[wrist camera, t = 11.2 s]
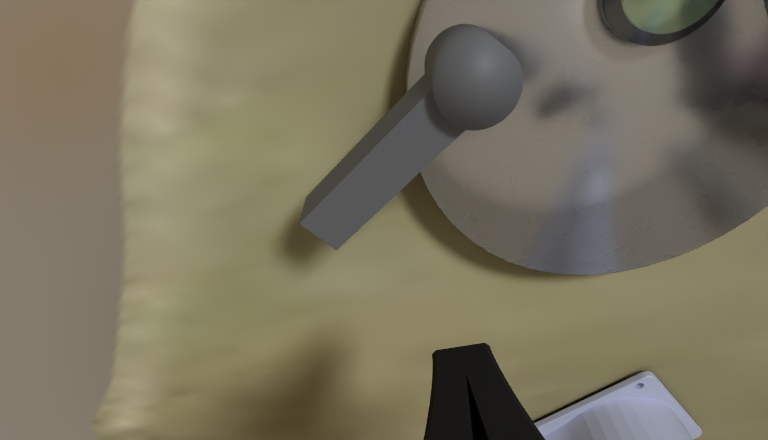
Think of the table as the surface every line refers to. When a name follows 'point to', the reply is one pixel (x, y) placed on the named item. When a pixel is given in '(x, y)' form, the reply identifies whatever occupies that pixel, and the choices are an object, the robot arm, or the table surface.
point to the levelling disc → (609, 130)
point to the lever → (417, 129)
